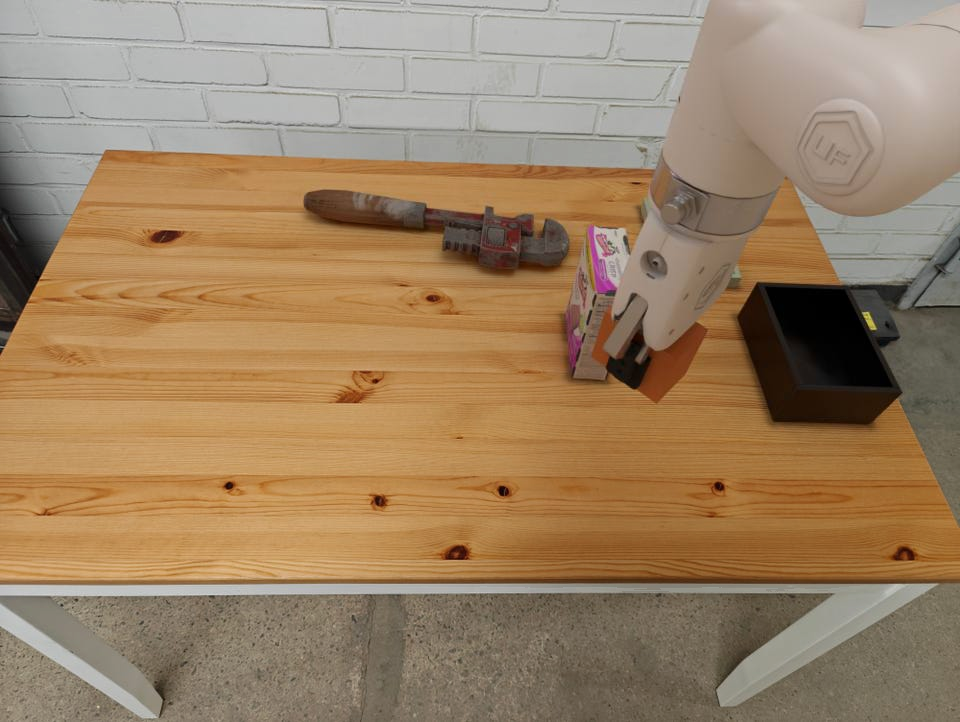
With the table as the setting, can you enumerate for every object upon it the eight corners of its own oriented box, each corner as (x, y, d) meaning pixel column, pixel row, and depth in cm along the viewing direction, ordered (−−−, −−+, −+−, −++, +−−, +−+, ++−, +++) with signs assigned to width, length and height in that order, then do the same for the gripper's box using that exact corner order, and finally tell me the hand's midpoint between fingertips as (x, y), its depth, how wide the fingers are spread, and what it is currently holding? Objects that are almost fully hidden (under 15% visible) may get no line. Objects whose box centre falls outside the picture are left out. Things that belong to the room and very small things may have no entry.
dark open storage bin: (870, 424, 79) (903, 392, 74) (772, 421, 78) (798, 389, 73) (822, 319, 90) (848, 285, 84) (736, 316, 89) (757, 281, 84)
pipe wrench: (567, 228, 99) (573, 202, 95) (567, 284, 91) (573, 258, 87) (312, 201, 99) (306, 175, 95) (290, 255, 91) (284, 228, 87)
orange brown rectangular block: (685, 374, 55) (708, 329, 50) (656, 404, 52) (678, 359, 48) (620, 330, 57) (636, 283, 53) (590, 356, 55) (604, 310, 51)
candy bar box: (562, 315, 87) (585, 223, 74) (598, 317, 87) (627, 225, 74) (568, 381, 80) (595, 292, 67) (607, 382, 81) (641, 294, 68)
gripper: (691, 280, 35) (616, 447, 49) (824, 160, 43) (726, 334, 57) (585, 215, 38) (544, 391, 52) (727, 114, 46) (658, 291, 60)
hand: (640, 360), depth 54 cm, fingers closed on orange brown rectangular block, 4 cm apart
